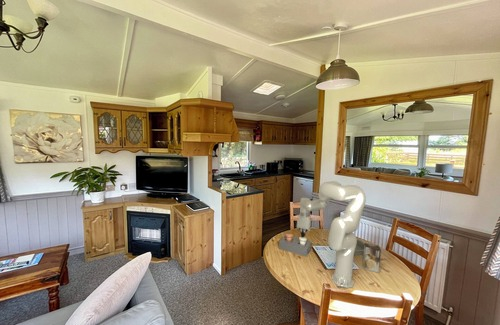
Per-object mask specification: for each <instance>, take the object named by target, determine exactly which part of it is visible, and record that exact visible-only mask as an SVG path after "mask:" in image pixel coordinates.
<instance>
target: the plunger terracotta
mask: <svg viewBox="0 0 500 325" xmlns="http://www.w3.org/2000/svg"><path fill="white" fill-rule="evenodd" d="M285 235H286V241H290V242H292V237H294V234H293V233H290V232H286V233H285Z"/></svg>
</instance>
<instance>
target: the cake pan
mask: <svg viewBox="0 0 500 325" xmlns="http://www.w3.org/2000/svg"><path fill="white" fill-rule="evenodd" d="M361 255H364V242H363V241H361V240H360V239H357V244H356V248H355V251H354V256H361Z"/></svg>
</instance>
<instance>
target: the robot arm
mask: <svg viewBox="0 0 500 325" xmlns="http://www.w3.org/2000/svg"><path fill="white" fill-rule="evenodd" d="M318 190H319V191H318V194H317V195H318V199H313V200H311V199H310V198H309V197H301V198H300V199H299V200H300V202H299V214H298V216H297V220H296V229H298V230H299V231H300V237H303V238H304V237H306V232H311V227H312V217H311V216H312V213H311V212H315V211H317V212H318V211H321V210H323V209H325V208H326V207H328V205H329V203H330V201H331V200H335V201H339V202H343V201H349V202H348V203H347V205H346V207H345V211H344V215H342V216H338V217H335V218H333V219H332V221H331V224H330V226H329V233H328V237H327V243H328V246H329V247H330V249H331V250H333V251H336V256H335V263H334V264H335V267H334V273H333V274H332V275H331V281H332V282H333V283H334V284H335V285H336V286H338V287H341V288H345V289H349V288H353V287H354V285H355V281H354V279H353V278H352V277H353V268H354V267H353V266H354V256H355V255H354V251H355V248H356V244H357V240H358V239H357V235H355V232H356V231H357V230H358V229H359V226H360V222H361V219H362V214H363V210H364V209H365V204H366V201H367V200H366V199H367V198H366V197H367V196H366V193H365V191H364V190H363V188H361V187H360V186H359V185H355V184H347V185H342V184H341V183H340V182H338V181H335V180H334V181H324V182H322V183H321V184H320V186H319V189H318Z"/></svg>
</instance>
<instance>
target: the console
mask: <svg viewBox="0 0 500 325" xmlns="http://www.w3.org/2000/svg"><path fill="white" fill-rule="evenodd" d="M312 245H313V241H311V240H308V239H307V240H306V243H305V246H304V245H300V240H299V237H297V236H293V237H292V242H290V241H286V234H284V235H283V237H282V238H281V239H279V243H278V249H280V250H283V251H286V252H290V253H293V254H297V255H300V256H303V257H305V258H307V257H308V255H309V254H310V252H311V250H312Z"/></svg>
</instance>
